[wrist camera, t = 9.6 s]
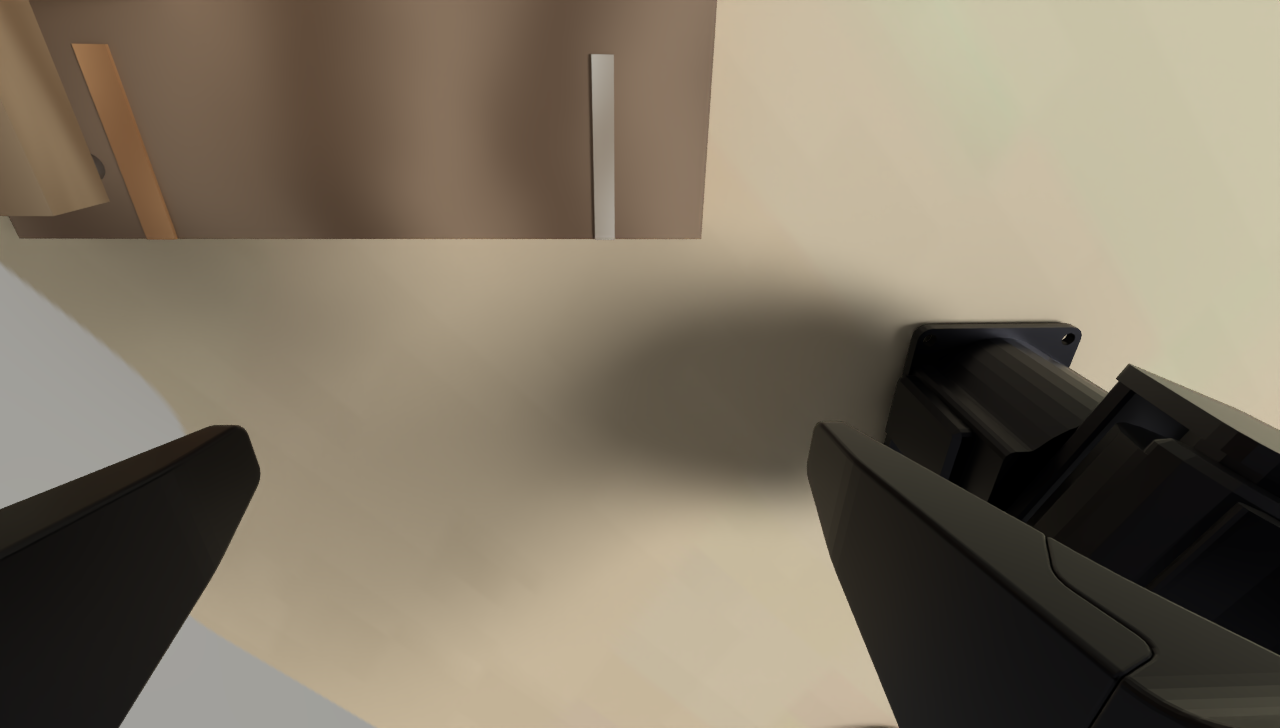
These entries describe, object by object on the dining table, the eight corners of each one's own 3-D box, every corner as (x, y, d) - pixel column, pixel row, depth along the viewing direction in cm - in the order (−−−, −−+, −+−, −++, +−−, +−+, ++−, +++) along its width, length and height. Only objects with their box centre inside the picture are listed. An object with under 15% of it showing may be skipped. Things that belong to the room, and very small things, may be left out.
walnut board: (720, -265, 14) (738, -317, 12) (692, 224, 19) (701, 239, 18) (-159, -313, 13) (-290, -380, 11) (76, 222, 18) (16, 239, 16)
